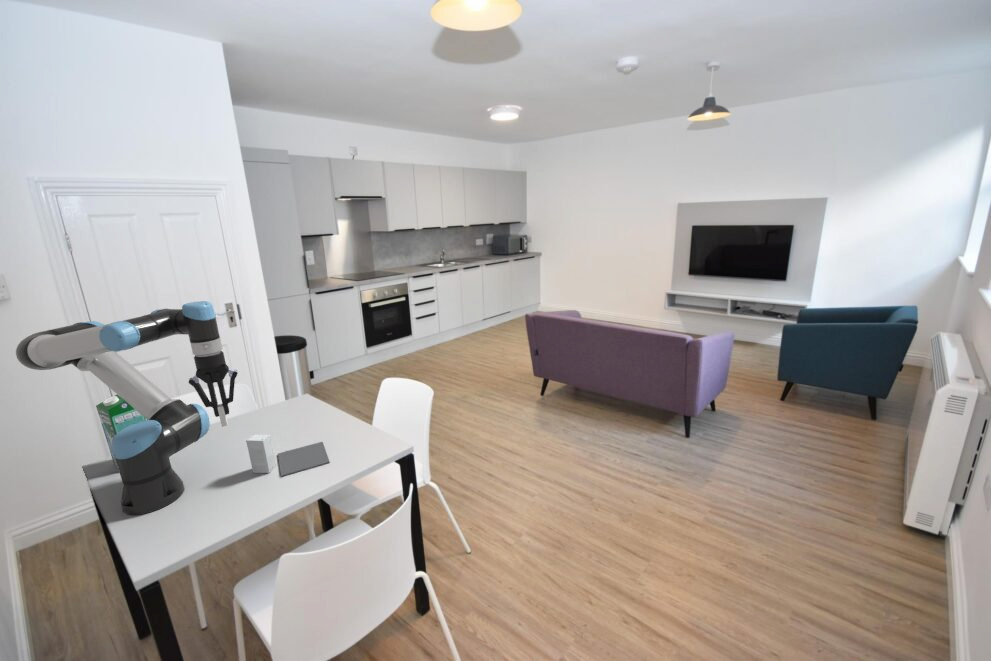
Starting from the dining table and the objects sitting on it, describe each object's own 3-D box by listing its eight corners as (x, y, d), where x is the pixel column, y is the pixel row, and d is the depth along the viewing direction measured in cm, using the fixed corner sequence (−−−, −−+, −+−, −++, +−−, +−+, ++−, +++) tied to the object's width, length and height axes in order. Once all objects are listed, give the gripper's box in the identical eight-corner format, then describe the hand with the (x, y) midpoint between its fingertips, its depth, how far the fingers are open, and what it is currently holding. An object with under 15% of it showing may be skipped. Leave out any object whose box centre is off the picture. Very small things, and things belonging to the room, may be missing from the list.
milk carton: (113, 464, 152) (93, 399, 145) (143, 452, 159) (125, 389, 153) (126, 470, 148) (106, 403, 141) (156, 457, 155) (138, 393, 149)
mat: (281, 477, 140) (281, 475, 140) (278, 454, 154) (277, 453, 154) (329, 463, 147) (329, 461, 147) (322, 442, 161) (322, 441, 161)
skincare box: (277, 466, 147) (270, 434, 143) (269, 473, 143) (262, 440, 139) (260, 465, 147) (253, 434, 144) (252, 473, 143) (245, 440, 140)
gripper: (180, 360, 124) (199, 435, 130) (233, 352, 130) (248, 423, 136) (183, 354, 130) (201, 425, 136) (233, 346, 136) (248, 414, 142)
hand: (224, 424), depth 136 cm, fingers closed
